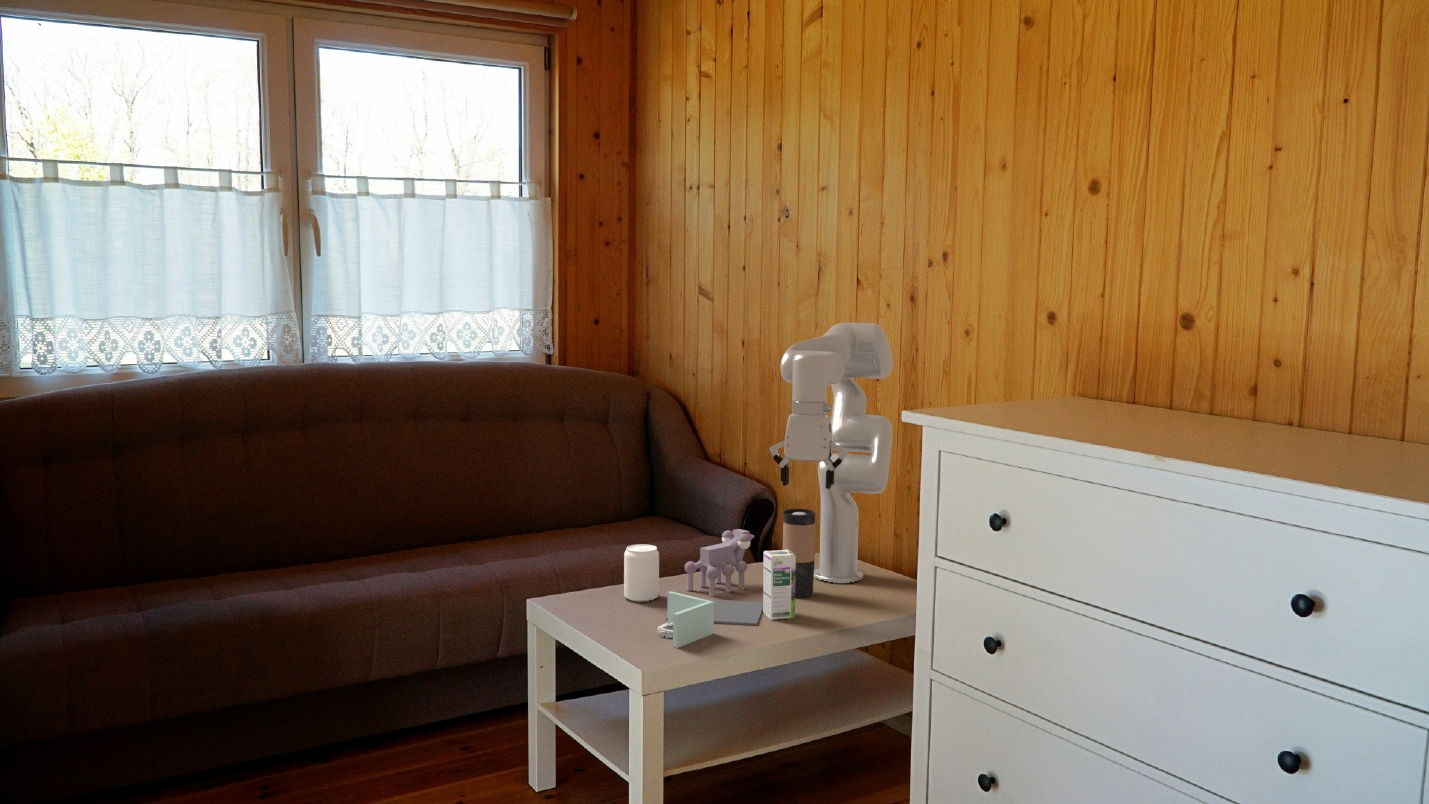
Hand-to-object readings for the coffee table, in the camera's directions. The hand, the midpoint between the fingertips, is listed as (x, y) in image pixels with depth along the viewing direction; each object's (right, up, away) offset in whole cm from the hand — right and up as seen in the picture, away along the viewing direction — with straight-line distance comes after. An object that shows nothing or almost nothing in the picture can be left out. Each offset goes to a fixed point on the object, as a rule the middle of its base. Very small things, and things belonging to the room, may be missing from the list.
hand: (807, 486), depth 237 cm
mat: (-20, -29, +4) cm, 35 cm away
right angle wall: (-29, -31, -11) cm, 44 cm away
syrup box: (-6, -29, +2) cm, 30 cm away
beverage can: (-38, -28, +15) cm, 49 cm away
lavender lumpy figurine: (-18, -27, +26) cm, 41 cm away
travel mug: (0, -28, +20) cm, 34 cm away
